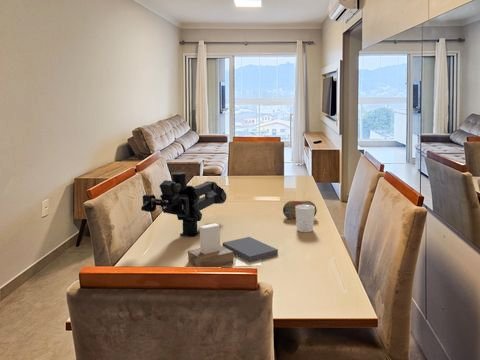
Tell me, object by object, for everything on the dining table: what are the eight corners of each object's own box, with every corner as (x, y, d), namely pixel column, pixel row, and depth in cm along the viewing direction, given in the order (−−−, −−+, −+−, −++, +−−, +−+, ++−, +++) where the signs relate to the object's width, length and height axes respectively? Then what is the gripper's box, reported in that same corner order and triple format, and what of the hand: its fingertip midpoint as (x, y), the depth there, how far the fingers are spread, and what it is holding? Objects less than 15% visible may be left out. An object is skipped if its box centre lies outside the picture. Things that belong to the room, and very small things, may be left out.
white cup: (291, 230, 190) (291, 207, 188) (302, 226, 195) (302, 203, 193) (307, 234, 184) (307, 210, 182) (318, 229, 190) (318, 206, 188)
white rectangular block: (200, 251, 154) (199, 226, 153) (215, 248, 158) (215, 223, 156) (204, 254, 152) (203, 228, 150) (220, 250, 155) (219, 225, 153)
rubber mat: (222, 247, 170) (222, 242, 170) (249, 241, 176) (249, 236, 176) (249, 262, 155) (249, 256, 155) (277, 254, 161) (277, 249, 161)
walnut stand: (188, 261, 156) (187, 250, 156) (218, 254, 163) (218, 243, 162) (202, 270, 148) (201, 259, 147) (233, 263, 155) (233, 251, 154)
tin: (282, 219, 207) (282, 201, 205) (283, 217, 210) (283, 199, 208) (316, 220, 204) (316, 201, 203) (316, 218, 207) (316, 200, 206)
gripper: (154, 178, 177) (129, 185, 163) (196, 181, 170) (173, 189, 156) (156, 206, 179) (131, 216, 165) (197, 210, 172) (175, 221, 158)
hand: (152, 210), depth 161 cm, fingers open, 9 cm apart
